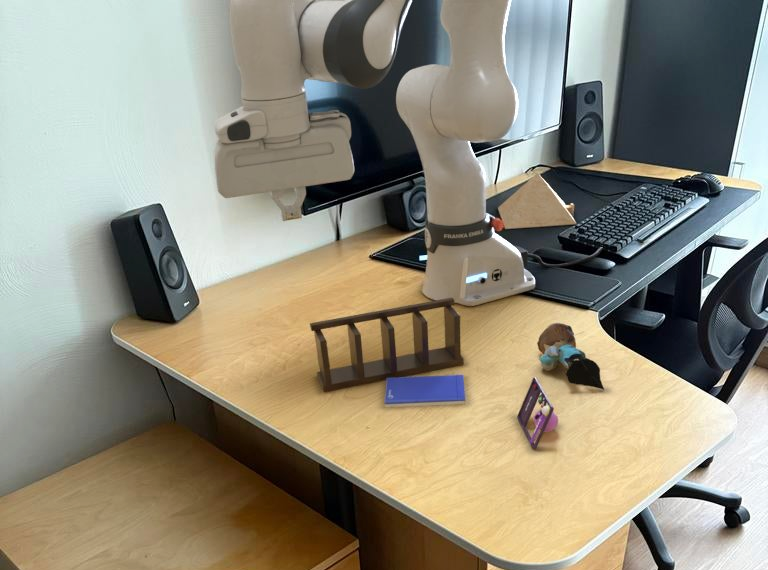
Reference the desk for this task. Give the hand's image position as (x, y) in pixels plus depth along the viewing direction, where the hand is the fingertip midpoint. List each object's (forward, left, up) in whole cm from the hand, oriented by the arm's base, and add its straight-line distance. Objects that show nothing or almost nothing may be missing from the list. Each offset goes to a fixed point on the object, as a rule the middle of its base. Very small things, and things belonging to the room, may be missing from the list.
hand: (291, 218), depth 116 cm
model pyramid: (-67, -57, -25) cm, 91 cm away
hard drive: (-15, +15, -26) cm, 34 cm away
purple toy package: (-27, +33, -25) cm, 49 cm away
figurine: (-38, +18, -25) cm, 49 cm away
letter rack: (-12, +6, -25) cm, 28 cm away
